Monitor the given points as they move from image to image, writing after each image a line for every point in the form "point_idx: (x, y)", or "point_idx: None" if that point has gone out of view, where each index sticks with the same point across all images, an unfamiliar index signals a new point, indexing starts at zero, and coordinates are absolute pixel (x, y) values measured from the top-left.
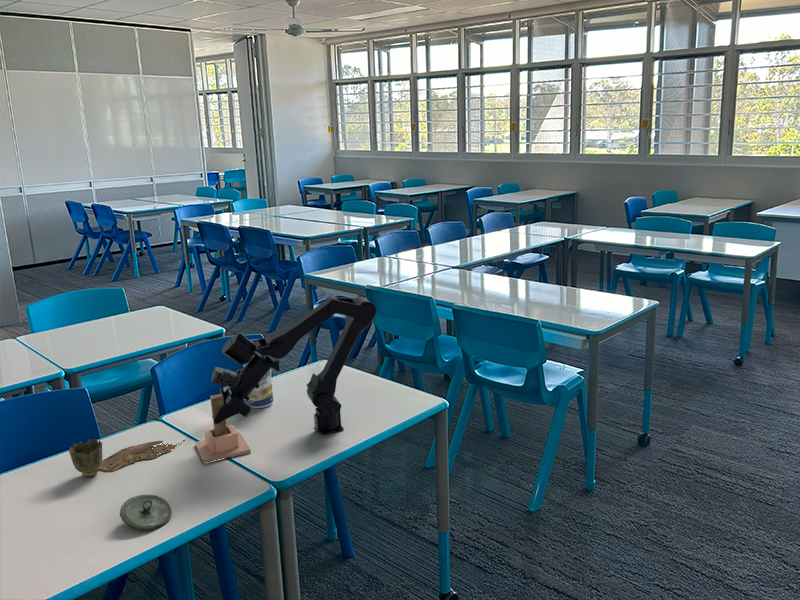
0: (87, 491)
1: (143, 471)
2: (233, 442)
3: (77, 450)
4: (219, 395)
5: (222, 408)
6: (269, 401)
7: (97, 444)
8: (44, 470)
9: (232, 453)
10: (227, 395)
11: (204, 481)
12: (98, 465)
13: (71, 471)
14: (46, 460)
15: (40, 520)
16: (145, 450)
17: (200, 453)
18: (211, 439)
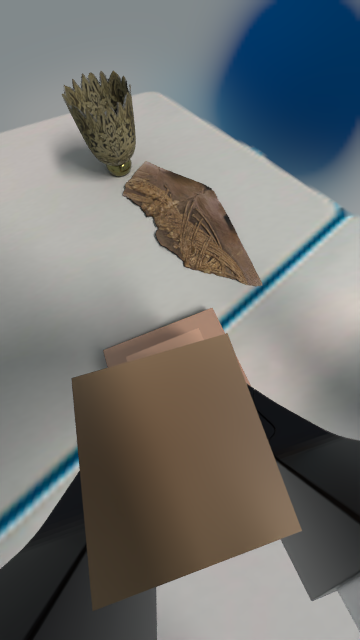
0: (66, 181)
1: (110, 239)
2: None
3: (119, 98)
4: (224, 489)
5: (69, 489)
6: None
7: (125, 112)
8: (153, 118)
9: None
10: (338, 568)
11: (20, 369)
12: (101, 158)
13: (141, 146)
14: (185, 111)
15: (4, 156)
16: (196, 220)
17: (145, 334)
18: None
